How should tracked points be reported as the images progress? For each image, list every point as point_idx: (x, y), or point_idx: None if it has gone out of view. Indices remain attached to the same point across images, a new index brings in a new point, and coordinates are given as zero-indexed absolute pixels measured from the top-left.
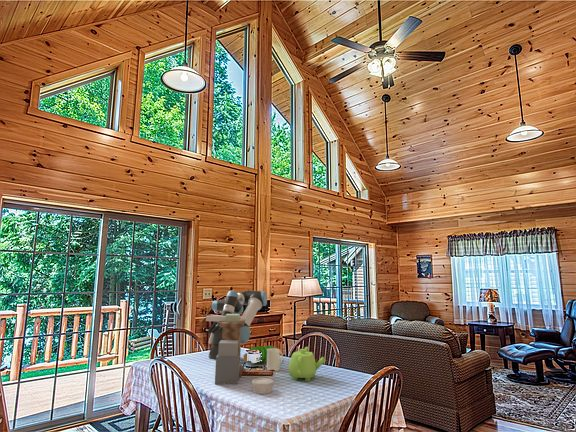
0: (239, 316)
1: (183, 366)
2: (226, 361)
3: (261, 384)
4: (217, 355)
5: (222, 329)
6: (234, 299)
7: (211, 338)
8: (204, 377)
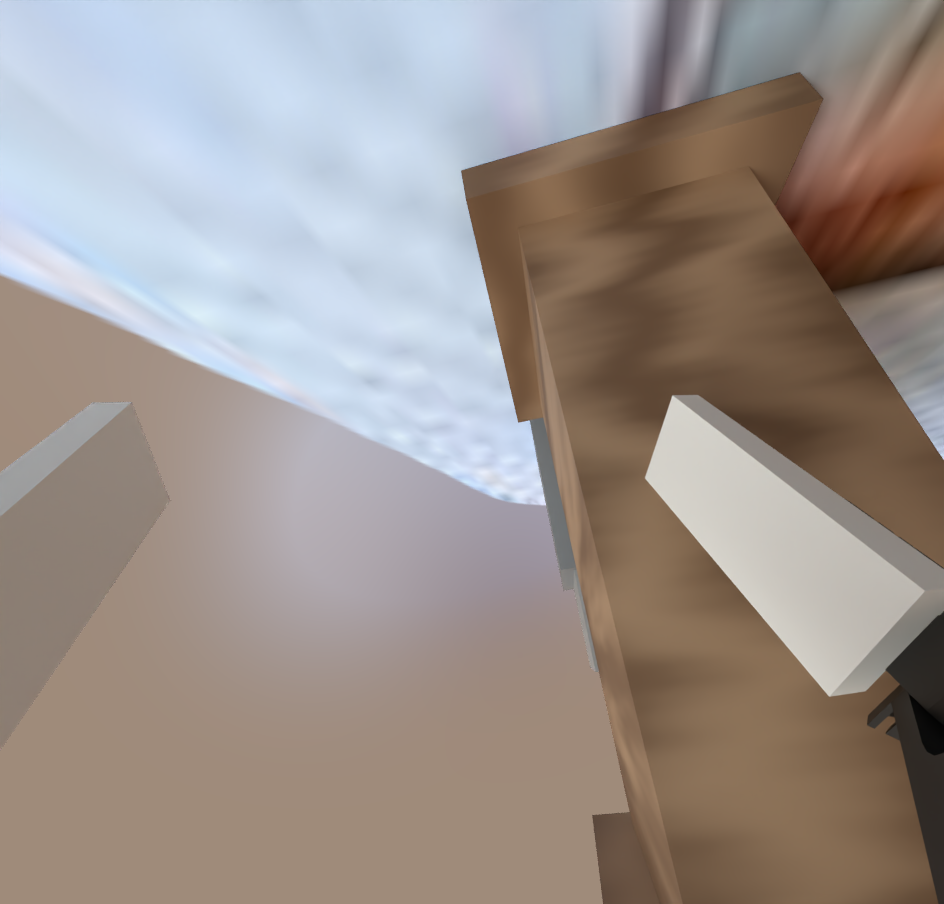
0: None
1: None
2: None
3: None
4: (565, 585)
5: (623, 781)
6: None
7: (74, 558)
8: (440, 419)
